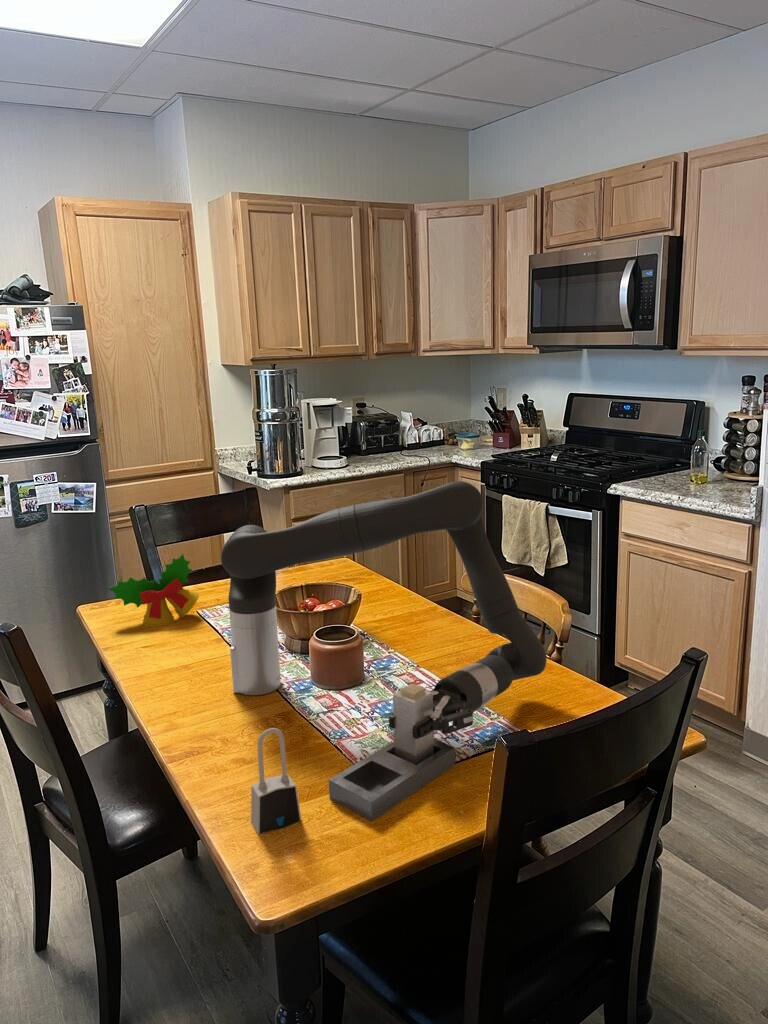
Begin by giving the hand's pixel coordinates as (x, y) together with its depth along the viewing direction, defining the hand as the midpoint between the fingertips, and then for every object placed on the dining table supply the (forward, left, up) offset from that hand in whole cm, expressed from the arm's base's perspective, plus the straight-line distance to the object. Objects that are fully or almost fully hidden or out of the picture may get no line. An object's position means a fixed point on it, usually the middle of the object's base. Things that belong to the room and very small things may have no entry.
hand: (402, 727), depth 124 cm
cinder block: (-2, -2, -8) cm, 9 cm away
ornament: (-58, +75, -9) cm, 95 cm away
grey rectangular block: (+2, +2, -7) cm, 8 cm away
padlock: (-20, -11, -9) cm, 24 cm away
